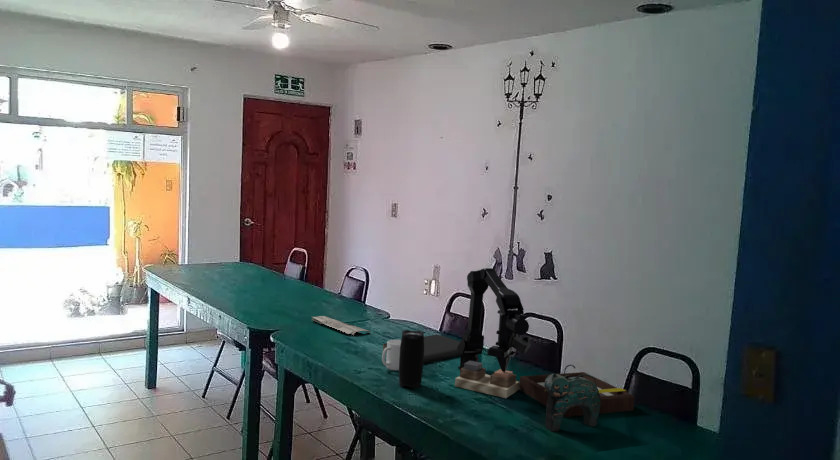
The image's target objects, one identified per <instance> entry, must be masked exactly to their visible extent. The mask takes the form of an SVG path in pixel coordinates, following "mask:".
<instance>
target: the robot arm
mask: <svg viewBox="0 0 840 460" xmlns="http://www.w3.org/2000/svg"><path fill="white" fill-rule="evenodd" d="M466 281H467V287H468V289H469V292H470V297H469V298H470V300H469V311H468V322H467V329H465V331H464V332H463V334H462V338H461V341H460V344H459V345H458V347H457V349H458V353H460V354H461V356H460V358H459V359H460V360H459V366H457V369H459V370H460V369H461V368H463V367H464V363H466V362H468V361H475V362H480V358H479V355H482V353H483V350H484V345H485V343H484V342H485V341H484V340H485V336H484V335H483V333H482V332H481V323H482V312H483V302H484V295H485V293H486V291H487V290H488V289H489V288H490V290H491V291H492V292H493V293H494V295H495V297H496V299H495V302H496V304H497V307H498V310H497V314H499V316H498V317H499V320H498V330H496V331H495V333H496V335H497V341H495V345H492V346H490V347H489V348H487V352H486V353H487V356H489V357H495V358H496V359H497V362H498V364H499V368H500V369H501V370H502V372H505V371H506V370H507V368H508V366H509V363H510V360H511V358H512V357H513V356H514V355H515V354H516V353H517V351H518V352H519V353H521V354H525V353H527V352H528V350H529V348H530V347H531V346H532V345H531V339H530V337H529V336H527V335H526V333H528V331H529V328H530V324H529V322H528V320H527V319H525V313H524V311H525V309H524V306H523V304H522V301H521V298H520V296H519V294H518V293H517V292H515V291H514V290H512V289H510V288H508V286H506V284H505V283H504V282H503V280H502V279H501V277H500V276H499V275H498V274H497V270H496V269H495V268H491V267H489V268H487V267H486V268H482V269H478V270H470V272H469V273H468V274H467V276H466ZM524 335H526V336H524ZM522 336H524V337H523V338H522ZM513 349H515V350H517V351H514V350H513Z"/></svg>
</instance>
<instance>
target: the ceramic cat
mask: <svg viewBox="0 0 840 460" xmlns="http://www.w3.org/2000/svg"><path fill="white" fill-rule="evenodd" d="M568 367H573V368H574V369H576V366H575V365H574V364H567V365H566V366H565V367H564V371H563V372H564V375H565V373H566V369H567V368H568ZM558 374H559V373H551V375H549V376H548V377H547V378H546V380H545V390H546V391H547V393H548V394H549V396H548V401H547V406H545V407H546V408H545V424H544V425H545V426H544V427H545V429H547V430H548V431H550V432H551V433H552V432H559V431H560V428H561V424H562V420H563V419H564V417H563V416H564V415H565V413H566V411H567V410H568V409H569V408H572V407H575V406H580V407H581V408H582V409H583V414H584V415H583V422H582V423H583V425H586V426H587V427H595V426H596V427H597V425H598V419H599V415H600V414H599V411H600V405H601V399H600V394H599V390H598V388H597V385H596V380H595V378H596V377H595V376H593V375H591V374H589V373H587V374H582V375H579V376H577V377H571V378H568V377H569V376H561V375H558ZM588 374H589V375H588ZM580 376H590V377H592V378H593V379H594V381H595V384H594V383H593V382H592V381H590V380H588V379H586V378H583V377H580ZM594 377H595V378H594Z"/></svg>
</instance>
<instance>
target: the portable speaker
mask: <svg viewBox="0 0 840 460" xmlns="http://www.w3.org/2000/svg"><path fill="white" fill-rule="evenodd" d="M401 332H402V333H401V339H400V340H401V345H400V357H399V371H398V386H399V387H401V388H404V387H410V388H411V389H413V390H416V389H420V388H421V385H422V379H423V370H424V364H423V361H424V337H425V335H424V334H425V332H424V331H422V330H410V329H405V330H402V331H401Z"/></svg>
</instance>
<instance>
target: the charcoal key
mask: <svg viewBox="0 0 840 460" xmlns="http://www.w3.org/2000/svg"><path fill="white" fill-rule="evenodd" d="M482 368H483V362H480V361H479V362H475V361H468V362H466V363H464V369H466V370H470V371H475V372H478V371H480V370H481V369H482Z"/></svg>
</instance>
